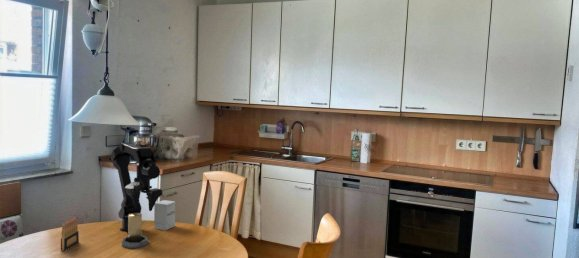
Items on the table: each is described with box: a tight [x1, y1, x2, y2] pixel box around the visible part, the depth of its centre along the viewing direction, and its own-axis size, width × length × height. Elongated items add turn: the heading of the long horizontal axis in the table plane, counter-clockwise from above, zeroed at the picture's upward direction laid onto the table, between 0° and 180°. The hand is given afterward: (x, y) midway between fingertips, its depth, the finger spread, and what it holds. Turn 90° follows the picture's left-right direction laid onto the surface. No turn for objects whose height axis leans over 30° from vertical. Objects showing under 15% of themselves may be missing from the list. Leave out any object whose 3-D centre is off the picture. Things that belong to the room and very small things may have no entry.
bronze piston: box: [127, 213, 143, 243], centre depth 186 cm, size 6×6×12 cm
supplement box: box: [153, 199, 176, 231], centre depth 210 cm, size 7×7×13 cm
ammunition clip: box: [60, 215, 80, 251], centre depth 181 cm, size 11×2×12 cm, turn 178°
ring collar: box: [121, 235, 149, 250], centre depth 186 cm, size 11×11×2 cm
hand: (143, 209), depth 194 cm, fingers open, 9 cm apart
